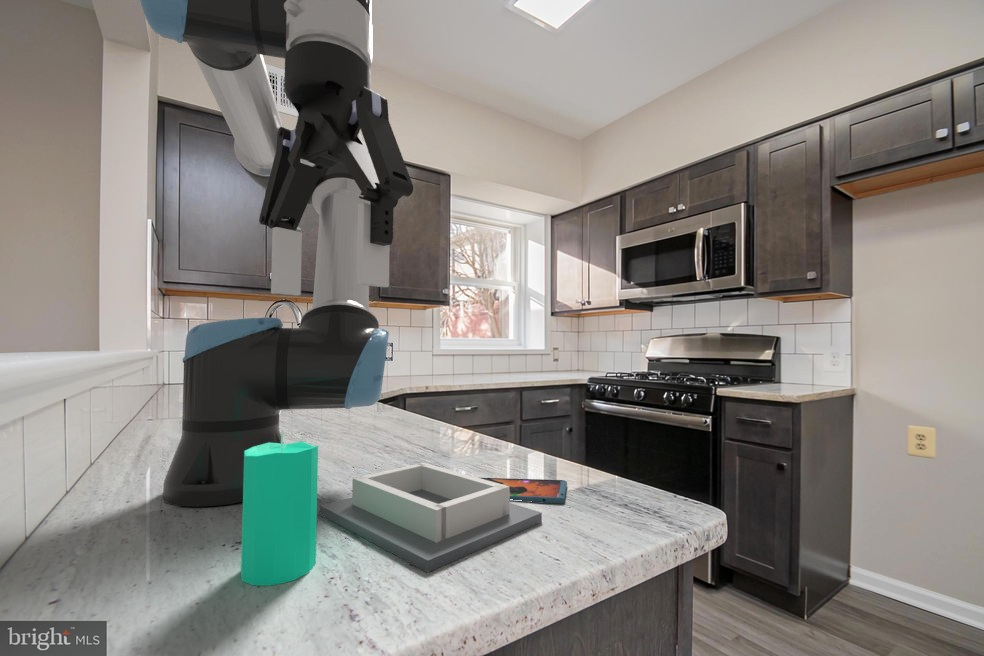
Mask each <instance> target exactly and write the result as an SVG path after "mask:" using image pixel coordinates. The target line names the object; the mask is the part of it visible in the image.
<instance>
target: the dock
mask: <svg viewBox="0 0 984 656" xmlns="http://www.w3.org/2000/svg"><path fill="white" fill-rule="evenodd" d="M481 478H482V477H476V476H473V475H469V474H465V473H463V472H459V471H455V470H452V469H448V468H444V467H440V466H437V465H433V464H430V463H427V462H420V463H415V464H410V465H407V466H402V467H398V468H393V469H388V470H384V471H380V472H375V473H370V474H366V475H363V476H359V477H358V476H357V477H353V478H352V489H351V491H352V496H351V497H348V498H344V499H341V500H337V501H332V502H329V503H325V504H322V505H321V504H320V505H319V515H320V516H322V517H324V518H326V519H328V520H330V521H332V522H333V523H336V524H337V525H339V526H341V527H343V528H345V529H346V530H348V531H350V532H352V533H353V534H355V535H358V536H360V537H362V538H363V539H364V540H367V541H369V542H370V543H372V544H375V545H376V546H378V547H379V548H381V549H383V550H385V551H387V552H389V553H391V554H393V555H395V556H396V557H398V558H400V559H403V560H404V561H406V562H407V563H409V564H411V565H414V566H415V567H417V568H419V569H421V570H422V571H424V572H426V573H430V572H432V571H434V570H437V569H438V568H441V567H443V566H445V565H448V564H450V563H452V562H455V561H457V560H459V559H461V558H464V557H466V556H468V555H470V554H473V553H475V552H477V551H480V550H481V549H484V548H486V547H488V546H490V545H493V544H495V543H497V542H500V541H502V540H504V539H506V538H508V537H511V536H513V535H515V534H517V533H519V532H522V531H525V530H526V529H529V528H531V527H534V526H535V525H537V524H540V523H542V521H543V517H542V512H541V511H537V510H535V509H534V510H533V509H532V508H528V507H526V506H525V507H524V506H521V505H519V504H515V503H512V502H511V501H510V486H506V485H502V484H499V483H495V482H492V481H488V480H484V479H481Z"/></svg>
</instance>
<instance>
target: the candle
mask: <svg viewBox="0 0 984 656" xmlns="http://www.w3.org/2000/svg"><path fill="white" fill-rule="evenodd" d="M280 434H281V444H280V443H265V444H261V445H258V446H254V447H251V448H249V449H247V450H245V451H244V479H243V502H242V522H241V523H242V524H241V555H240V559H241V561H240V562H241V563H240V575H241V576H240V577H241V581H242V582H243V583H247V584H249V585H251V586H255V585H256V586H276V585H280V584H283V583H284V584H285V583H289V582H293V581H296V580H297V579H299V578H301V577H303V576H305V575H307V574H308V572H309V573H310V572H311V571H312V570H313V568H314V567H315V566H316V564H317V563H316V562H317V558H316V557H317V518H318V472H319V470H318V466H319V463H318V462H319V461H318V460H319V445H312V444H310V443H308V442H306V441H297V442H292V443H291V442H290V443H284V429H281V431H280ZM283 443H284V444H283ZM313 566H314V567H313ZM310 570H311V571H310Z"/></svg>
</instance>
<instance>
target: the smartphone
mask: <svg viewBox="0 0 984 656" xmlns="http://www.w3.org/2000/svg"><path fill="white" fill-rule="evenodd" d="M480 478H481V479H484V480H488V481H492V482H495V483H499V484H502V485H506V486H510V499H513V500H522V501H532V502H531V503H535V502H543V503H542V504H558V505H559V504H560V505H561V504H564V503H565V498H566V494H567V493H566V492H567V487H568V481H566V480H564V479H539V478H538V479H537V478H536V479H535V478H506V477H505V478H503V477H502V478H501V477H499V478H498V477H480Z"/></svg>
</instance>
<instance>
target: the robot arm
mask: <svg viewBox="0 0 984 656" xmlns="http://www.w3.org/2000/svg"><path fill="white" fill-rule="evenodd" d="M139 2H140V5H141V8H142V12H143V14H144V17H145V19H146V21H147V23H148V25H149V26H150V28H151V29H152V30H153V32H155V34H157V35H159V36H160V37H162V38H164V39H169V40H174V41H175V42H177V43H179V44H182V43H187V45H188V47H189V48H190V51H191V53H192V55H193V56H194V58H195V60H196V62H197V64H198V67H199V68H200V69H199V70H200V71H201V72H202V74H203V76H204V79H205V81H206V82H207V85H208V87H209V89H210V92H211V93H212V95H213V97H214V100H215V102H216V104H217V106H218V108H219V110H220V112H221V114H222V116H223V118H224V119H225V123H226V124H227V126H228V128H229V130H230V132H231V134H232V137H233V138H234V140H233V150H234V154H235V157H236V159H237V161H238V163H239V165H240V167H241V168H242V170H244V172H245V173H246V174H247V175H248V177H250V178H251V179H252V180H253V181H254V182H255V183H257V184H258V186H260V187H262V188H263V189H265V192H264V193H265V195H264V198H263V201H262V206H261V210H260V214H259V220H258V222H259V224H260V225H262V226H266V227H268V228H269V229H271V230H272V232H271V234H272V235H271V275H270V277H271V279H270V294H273V295H285V296H286V295H287V296H296V297H297V296H302V251H303V250H302V249H303V248H302V245H303V240H302V239H303V232H304V231H302V228H301V227H300V226H299V224H300V222H301V220H302V219H303V218H302V217H303V215H304V214H305V210H306V209H307V206H308V205H312V207H313V208H314V211H315V212H316V213H317V214H318V215H319V216H318V217H319V220H318V232H317V244H316V257H315V270H314V271H315V272H314V284H313V293H312V294H313V295H312V308H310V309H308V310H307V311H306V312H305V313H304V314H303V315H302V317H301V319H300V323H299V324H300V326H299V327H284V324H283V322H282V320H281V319H280V318H279V317H248V318H246V317H245V318H235V319H227V320H225V319H224V320H216V321H212V322H211V321H210V322H206V323H200V324H198V325H195V326H193V327H192V328H190V330H189V331H188V332H187V334H186V338H185V350H184V356H183V358H182V363H183V378H182V379H183V387H182V389H183V390H182V415H181V416H182V418H181V419H182V422H181V425H182V426H181V428H182V429H181V437H180V440H179V442H178V445H177V447H176V450H175V452H174V455H173V457H172V459H171V462H170V465H169V468H168V470H167V473H166V475H165V478H164V480H163V493H162V494H163V495H162V499H163V500H164V501H163V502H165V503H167V504H170V505H174V506H178V507H179V506H180V507H193V508H194V507H198V508H199V507H215V506H223V505H233V504H238V503H239V504H240V503H243V479H244V451H245V450H247V449H249V448H251V447H254V446H258V445H261V444H265V443H280V444H281V431H280V411H282V410H284V411H286V410H316V409H317V410H318V409H319V410H321V409H327V410H328V409H345V410H350V409H352V408H361V407H363V408H364V407H371V406H374V405H375V404H377V403H378V402H379V400H380V398H381V396H382V388H383V383H384V375H385V374H384V372H385V366H386V358H387V352H388V351H387V349H388V342H389V335H390V332H389V331H388V330H387V329H384V328H382V327H380V326H379V325H380V324H379V320H378V318H377V316H376V315H375V314H374V313H373V312H372V311H370V287H378V288H389V287H390V251H391V248H390V245H392V243H393V239H394V208H396V206H397V205H398V204H399V203H398V202H399V200H400V199H401V198H402V197H407V198H408V197H410V196H411V195H412V194H413V191H414V183H413V182H412V179H411V176H410V174H409V171H408V169H407V166H406V165H407V164H405V160H404V157H403V155H402V152H401V150H400V147H399V145H398V142H397V139H396V136H395V134H394V131H393V129H392V126H391V125H392V124H391V123H390V121H389V106H388V104H389V103H388V99H387V98H386V97H384V96H382V95H381V94H379V93H377V92H375V91H374V90H372V72H371V68H372V64H373V24H372V21H373V20H372V4H373V2H372V0H139ZM264 56H268V57H274V58H280V59H284V93H285V96H286V98H287V100H288V101H289V102H290V103H291V104H292V106H293V107H294V108H295V110H296V111H297V115H298V116H297V120H296V124H295V128H294V129H289V128H286V127H283V126H284V125H283V122H282V119H281V116H280V112H279V108H278V104H277V102H276V98H275V94H274V89H273V87H272V83H271V81H270V76H269V73H268V69H267V66H266V62H265V59H264ZM360 131H361V132H360ZM362 137H363V138H362ZM283 444H285V443H284V442H283Z"/></svg>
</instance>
